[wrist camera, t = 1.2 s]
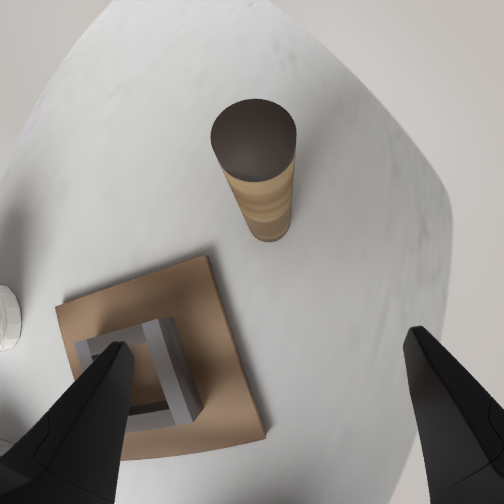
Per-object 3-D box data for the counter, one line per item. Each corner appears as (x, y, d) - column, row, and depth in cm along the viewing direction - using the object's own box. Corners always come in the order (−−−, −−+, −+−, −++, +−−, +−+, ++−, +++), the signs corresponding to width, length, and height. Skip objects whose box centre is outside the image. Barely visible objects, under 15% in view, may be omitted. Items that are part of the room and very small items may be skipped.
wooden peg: (295, 234, 23) (309, 156, 10) (255, 247, 23) (223, 183, 10) (281, 196, 24) (278, 89, 11) (243, 209, 24) (201, 114, 11)
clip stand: (266, 433, 21) (263, 456, 17) (112, 457, 22) (89, 475, 18) (207, 256, 23) (193, 247, 20) (61, 306, 24) (32, 306, 20)
